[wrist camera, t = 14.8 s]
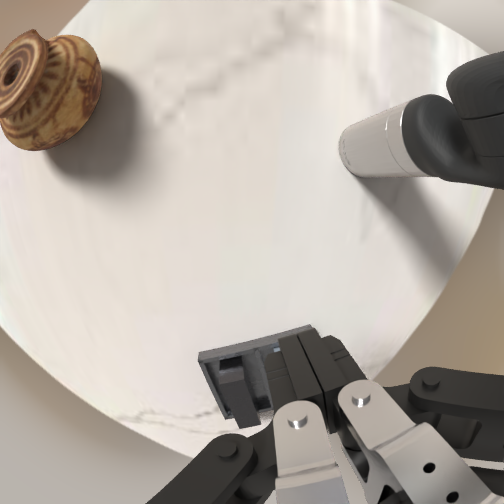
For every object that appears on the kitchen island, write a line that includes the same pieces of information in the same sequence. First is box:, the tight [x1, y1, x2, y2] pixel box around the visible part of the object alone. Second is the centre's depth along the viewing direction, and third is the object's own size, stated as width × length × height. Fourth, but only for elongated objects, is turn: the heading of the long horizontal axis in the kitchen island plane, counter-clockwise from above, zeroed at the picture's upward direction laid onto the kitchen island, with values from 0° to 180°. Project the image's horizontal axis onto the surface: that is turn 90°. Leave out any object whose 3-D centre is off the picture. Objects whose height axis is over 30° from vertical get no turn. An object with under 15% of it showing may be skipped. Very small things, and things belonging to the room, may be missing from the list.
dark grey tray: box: [198, 324, 312, 429], centre depth 44 cm, size 20×16×8 cm
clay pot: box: [0, 29, 102, 151], centre depth 24 cm, size 19×19×20 cm
